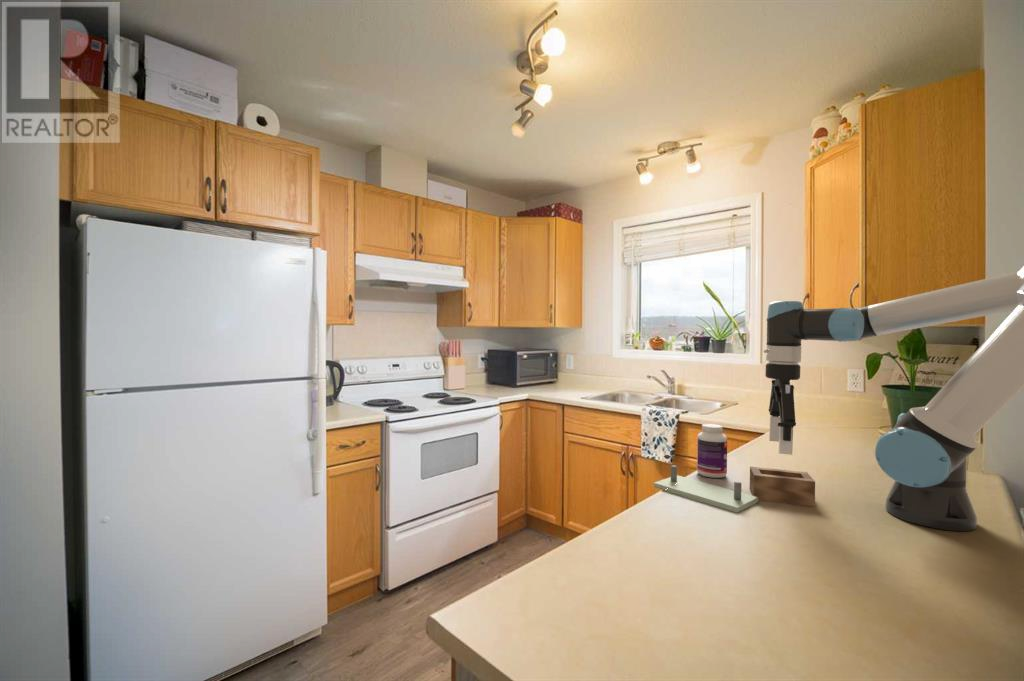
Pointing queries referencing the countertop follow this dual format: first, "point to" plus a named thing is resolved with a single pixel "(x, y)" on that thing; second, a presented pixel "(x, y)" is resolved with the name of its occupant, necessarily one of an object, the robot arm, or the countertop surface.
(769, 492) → the frame
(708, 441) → the pill bottle
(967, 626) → the countertop surface
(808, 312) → the robot arm
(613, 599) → the countertop surface
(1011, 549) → the countertop surface
